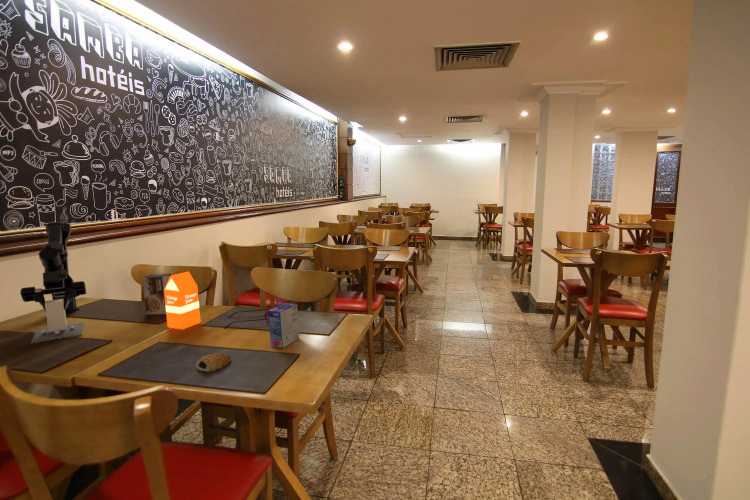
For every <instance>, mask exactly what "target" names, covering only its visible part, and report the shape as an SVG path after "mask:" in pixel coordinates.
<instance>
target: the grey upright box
mask: <svg viewBox="0 0 750 500" xmlns="http://www.w3.org/2000/svg"><path fill="white" fill-rule="evenodd" d="M170 276H172V274H171V273H150V274H147V275H144V276H142V288H143V295H144V305H145V312H146V313H145V314H146V315H166V306H165V294H164V289H165V287H166V285H167V283H168V281H169V278H170Z"/></svg>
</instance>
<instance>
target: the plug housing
mask: <svg viewBox="0 0 750 500" xmlns="http://www.w3.org/2000/svg"><path fill="white" fill-rule="evenodd" d="M45 301H46V302H45V309H46V312H45V313H46V314H45V315H46V322H47V328H48V330H49V331H52V330H59V329H65V328H66V327H67V325H68V322H67V321H68V320H67V316H66V313H65V310H64V299H56V300H53V299H51V300H45Z"/></svg>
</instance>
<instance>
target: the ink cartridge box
mask: <svg viewBox="0 0 750 500" xmlns="http://www.w3.org/2000/svg"><path fill="white" fill-rule="evenodd" d="M274 302H275V304H276V306H275V307H274V308H271V309H270V310H268V315H267V316H268V317H267V318H268V320H267V321H268V329H269V330H268V331H269V339H270V340H269V341H270V346H271V347H272V348H273V347H274V348H280V349H284V348H286V347H287V346H289V345H290V344H292V343H294V342H295V341H297V340H299V339H300V328H299V313H298V304H297V303H289V302H284V299H283V298H280V299H278V300H275V301H274ZM280 302H281V303H280ZM279 303H280V304H279Z"/></svg>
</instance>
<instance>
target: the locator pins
mask: <svg viewBox="0 0 750 500" xmlns="http://www.w3.org/2000/svg"><path fill="white" fill-rule="evenodd" d="M70 330H74V325H71V326H70ZM45 334H46V330H42V335H45ZM58 335H60V334H59V331H55V336H58Z"/></svg>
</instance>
